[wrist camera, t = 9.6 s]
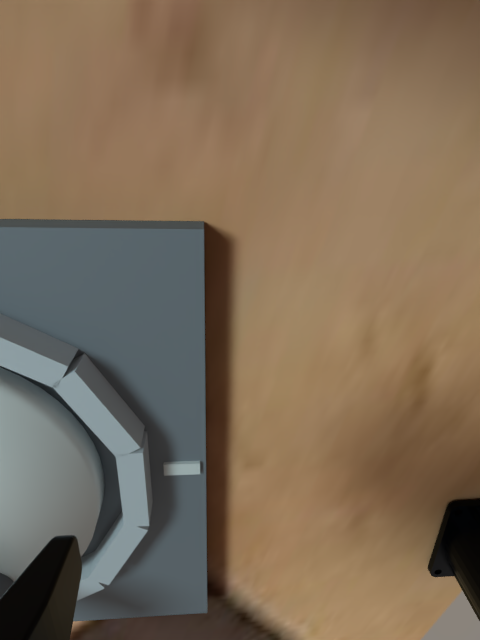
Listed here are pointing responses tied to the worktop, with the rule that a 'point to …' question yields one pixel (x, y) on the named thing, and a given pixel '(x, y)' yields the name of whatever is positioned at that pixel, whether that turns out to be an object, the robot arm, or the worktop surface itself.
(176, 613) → the dial plate
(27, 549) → the dial knob
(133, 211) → the worktop surface
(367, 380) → the worktop surface
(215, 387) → the worktop surface
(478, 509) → the robot arm
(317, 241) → the worktop surface
